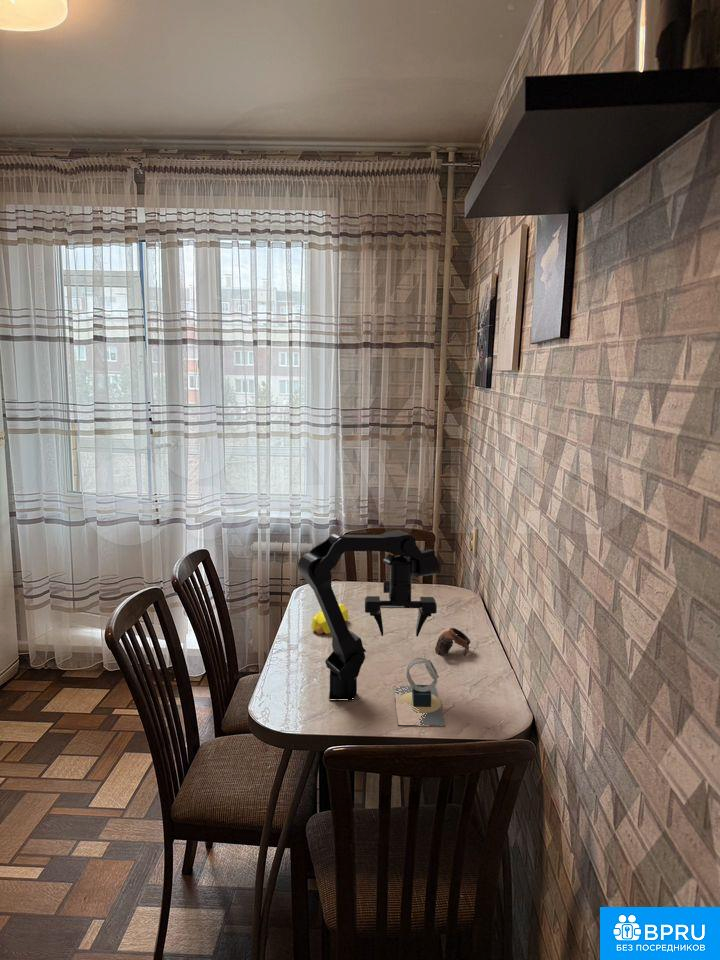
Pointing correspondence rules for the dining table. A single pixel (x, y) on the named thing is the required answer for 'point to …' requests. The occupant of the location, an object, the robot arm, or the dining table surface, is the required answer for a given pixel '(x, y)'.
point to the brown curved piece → (446, 641)
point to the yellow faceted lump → (321, 624)
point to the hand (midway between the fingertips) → (399, 635)
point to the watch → (422, 692)
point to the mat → (433, 712)
